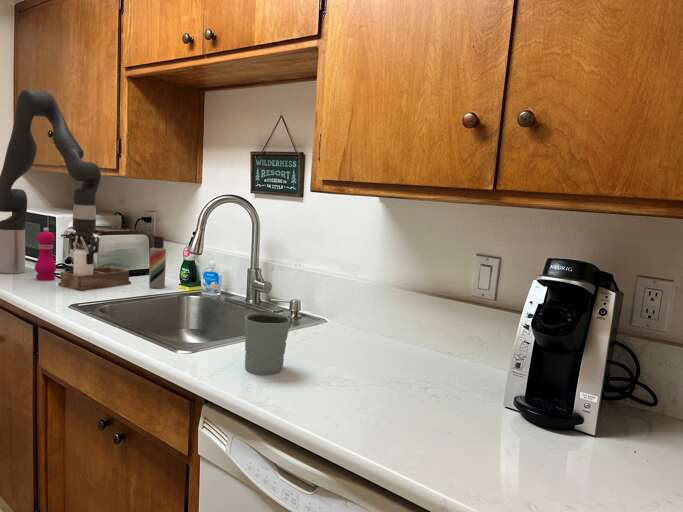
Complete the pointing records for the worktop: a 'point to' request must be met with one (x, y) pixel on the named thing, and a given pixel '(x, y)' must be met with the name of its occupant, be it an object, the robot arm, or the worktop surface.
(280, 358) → the gray cup
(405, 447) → the worktop surface
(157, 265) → the striped water bottle
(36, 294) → the worktop surface
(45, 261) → the pepper mill
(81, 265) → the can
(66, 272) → the caddy
